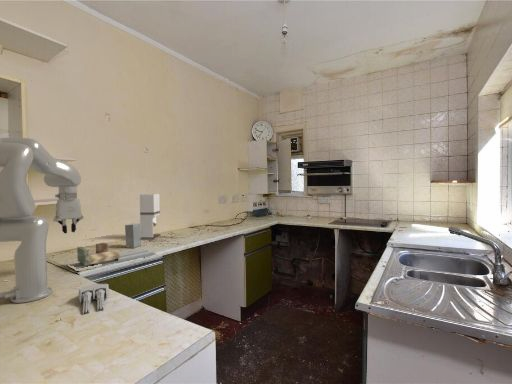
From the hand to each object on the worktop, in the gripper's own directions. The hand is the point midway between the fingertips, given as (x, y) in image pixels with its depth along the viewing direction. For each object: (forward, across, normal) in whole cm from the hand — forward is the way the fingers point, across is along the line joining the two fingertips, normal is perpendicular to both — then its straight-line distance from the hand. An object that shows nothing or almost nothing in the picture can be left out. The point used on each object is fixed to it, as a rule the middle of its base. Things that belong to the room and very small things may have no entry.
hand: (69, 232), depth 135 cm
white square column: (+19, +64, +38) cm, 76 cm away
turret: (+20, -6, -50) cm, 54 cm away
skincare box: (+19, +42, +22) cm, 52 cm away
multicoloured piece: (+19, +14, 0) cm, 23 cm away
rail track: (+19, +22, 0) cm, 29 cm away
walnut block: (+19, +20, +16) cm, 32 cm away
